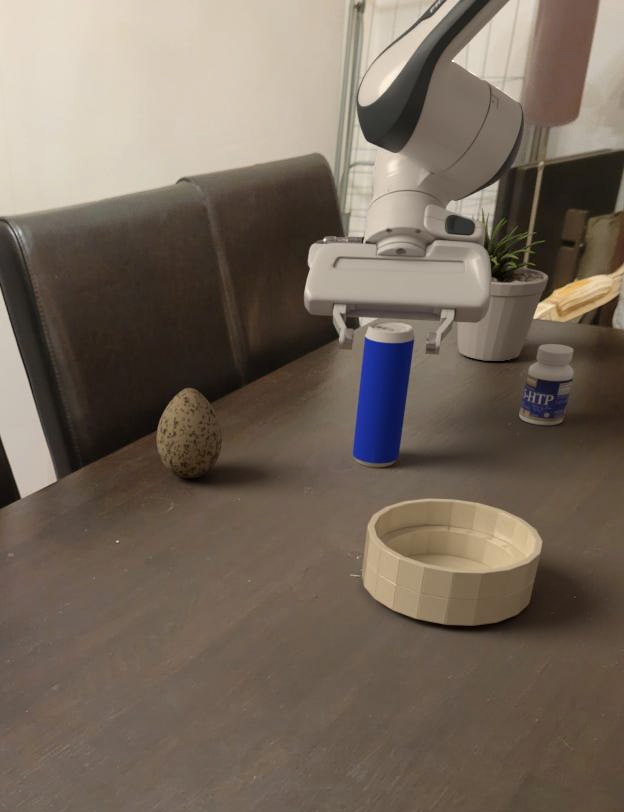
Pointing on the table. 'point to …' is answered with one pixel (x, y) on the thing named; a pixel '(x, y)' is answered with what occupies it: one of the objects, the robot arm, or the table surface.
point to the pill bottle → (547, 386)
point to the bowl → (450, 561)
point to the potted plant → (504, 303)
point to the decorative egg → (189, 435)
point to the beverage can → (383, 393)
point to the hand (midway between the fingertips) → (388, 349)
